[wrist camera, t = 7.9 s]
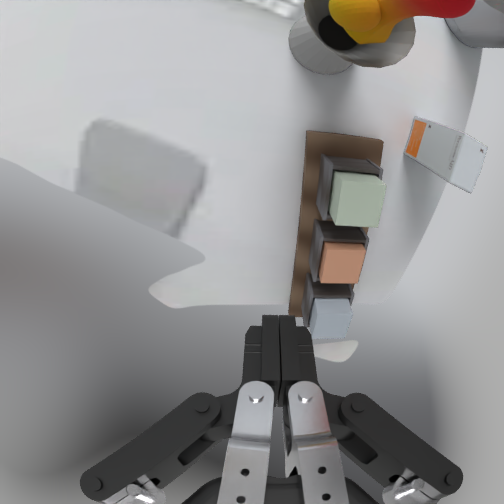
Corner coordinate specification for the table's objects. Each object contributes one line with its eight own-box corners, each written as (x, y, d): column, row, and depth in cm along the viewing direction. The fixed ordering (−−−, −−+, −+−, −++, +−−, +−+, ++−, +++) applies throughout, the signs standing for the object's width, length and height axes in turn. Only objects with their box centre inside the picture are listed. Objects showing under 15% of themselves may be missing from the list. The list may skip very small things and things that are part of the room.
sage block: (329, 165, 32) (342, 180, 27) (367, 169, 32) (386, 185, 26) (324, 203, 34) (335, 225, 29) (361, 206, 34) (377, 227, 29)
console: (306, 130, 33) (315, 138, 27) (379, 139, 33) (400, 150, 27) (288, 310, 49) (290, 338, 43) (343, 310, 49) (350, 337, 43)
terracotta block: (318, 226, 38) (327, 249, 33) (353, 228, 38) (366, 250, 33) (314, 257, 40) (320, 283, 35) (346, 258, 40) (357, 283, 35)
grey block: (312, 285, 41) (317, 314, 36) (344, 286, 41) (353, 313, 36) (307, 310, 44) (311, 338, 39) (337, 310, 44) (344, 338, 39)
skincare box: (413, 115, 30) (465, 131, 20) (436, 126, 30) (489, 146, 20) (401, 154, 33) (448, 183, 23) (424, 163, 34) (472, 195, 24)
